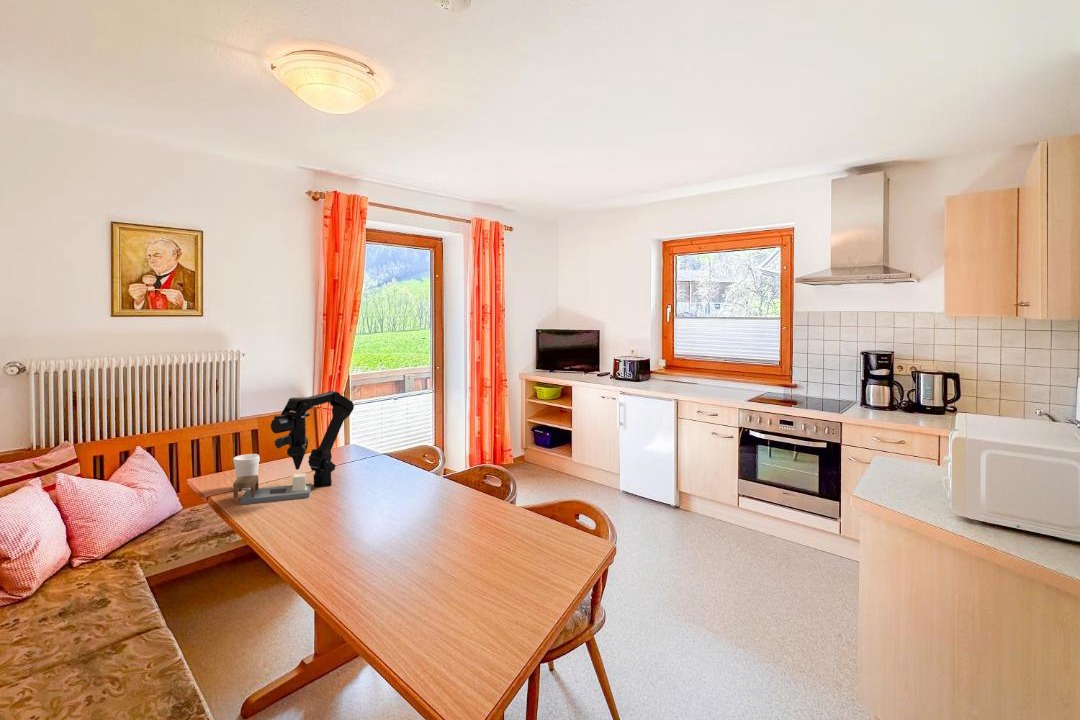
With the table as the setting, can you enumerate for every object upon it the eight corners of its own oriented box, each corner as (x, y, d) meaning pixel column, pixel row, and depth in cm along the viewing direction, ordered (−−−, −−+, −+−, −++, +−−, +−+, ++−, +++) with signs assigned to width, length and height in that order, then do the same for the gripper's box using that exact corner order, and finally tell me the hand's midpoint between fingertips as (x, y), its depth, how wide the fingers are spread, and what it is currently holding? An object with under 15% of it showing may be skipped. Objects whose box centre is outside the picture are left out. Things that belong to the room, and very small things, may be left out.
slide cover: (258, 488, 199) (258, 475, 198) (254, 496, 190) (253, 482, 189) (238, 490, 196) (238, 476, 196) (233, 498, 187) (232, 484, 187)
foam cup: (240, 492, 201) (238, 461, 200) (230, 487, 206) (229, 457, 205) (264, 486, 208) (263, 456, 207) (254, 481, 214) (253, 452, 213)
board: (311, 487, 207) (311, 482, 207) (309, 497, 196) (309, 492, 196) (246, 494, 198) (246, 489, 198) (240, 504, 187) (240, 499, 187)
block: (306, 486, 203) (305, 473, 202) (305, 489, 199) (304, 476, 198) (293, 487, 201) (293, 474, 201) (292, 490, 197) (292, 477, 196)
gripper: (278, 425, 204) (279, 461, 205) (272, 434, 186) (272, 474, 187) (308, 423, 208) (308, 459, 209) (304, 433, 190) (304, 472, 191)
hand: (298, 466), depth 199 cm, fingers open, 9 cm apart
